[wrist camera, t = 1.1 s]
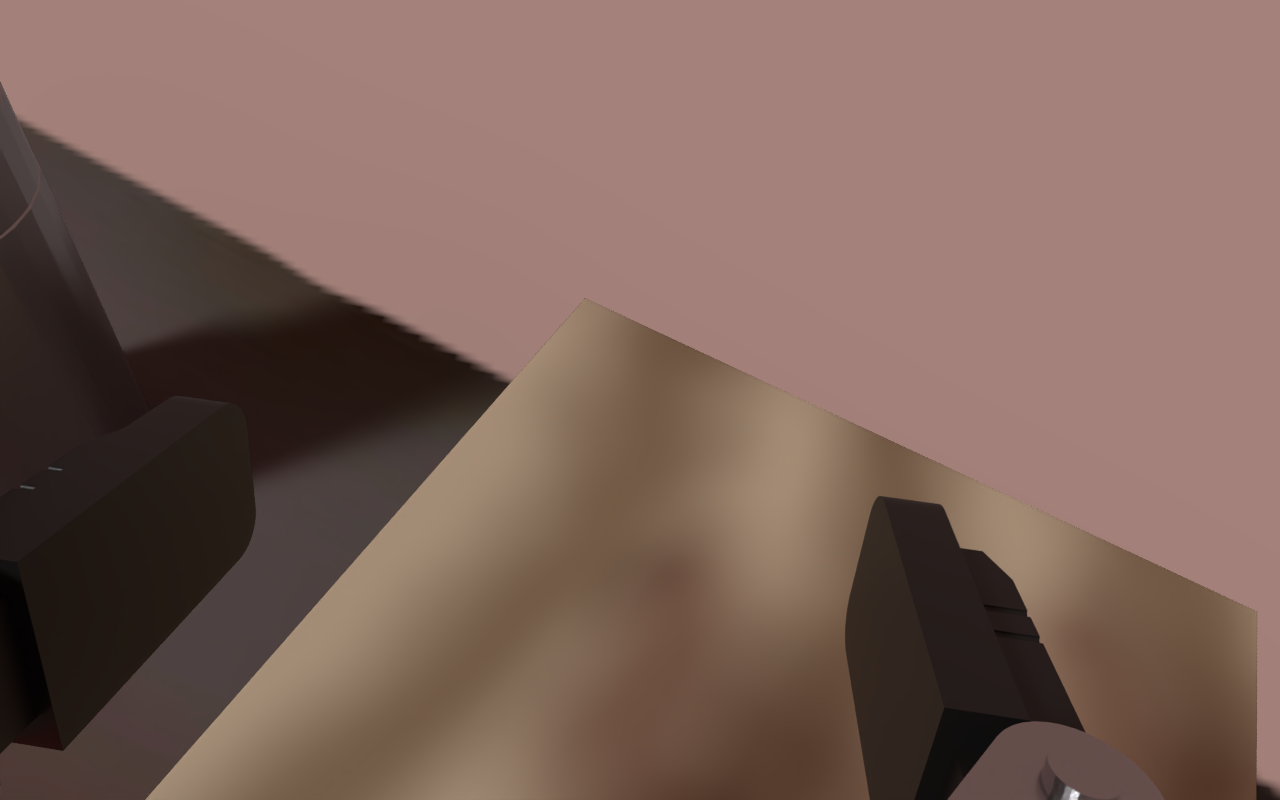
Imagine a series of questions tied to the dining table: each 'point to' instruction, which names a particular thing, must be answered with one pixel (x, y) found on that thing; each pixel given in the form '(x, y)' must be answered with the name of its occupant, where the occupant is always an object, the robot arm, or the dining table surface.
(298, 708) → the hutch
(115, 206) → the dining table surface
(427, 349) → the dining table surface
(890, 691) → the robot arm
